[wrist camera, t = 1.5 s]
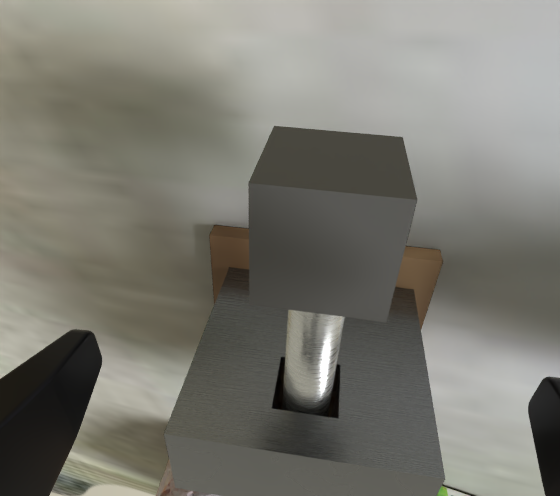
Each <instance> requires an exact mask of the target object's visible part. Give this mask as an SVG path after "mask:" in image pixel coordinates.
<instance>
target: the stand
mask: <svg viewBox="0 0 560 496" xmlns="http://www.w3.org/2000/svg"><path fill="white" fill-rule="evenodd" d="M209 236H210V250H211V264H212V279H213V293H214V307H213V310H212V312H211V315H210V317H209V320H208V323H207V325H206V328H205V330H204V333H203V335H202V338H201V340H200V343H199V346H198V348H197V351H196V353H195V356H194V358H193V361H192V363H191V366H190V369H189V371H188V374H187V376H186V379H185V381H184V384H183V386H182V389H181V391H180V394H179V397H178V399H177V402H176V404H175V407H174V409H173V412H172V414H171V417H170V420H169V422H168V425H167V427H166V430H165V432H164V437H165V442H166V447H167V451H168V456H169V461H170V465H171V470H172V475H173V479H174V484H175V488H180V489H186V490H191V491H197V492H203V493H209V494H215V495H221V496H437V494H438V492H439V490H440V488H441V486H442V484H443V482H444V480H445V475H444V469H443V463H442V457H441V451H440V445H439V439H438V433H437V427H436V421H435V414H434V408H433V402H432V396H431V390H430V384H429V378H428V372H427V366H426V360H425V354H424V347H423V341H422V335H421V328H422V325H423V322H424V319H425V316H426V313H427V310H428V306H429V303H430V300H431V297H432V294H433V291H434V288H435V285H436V282H437V279H438V276H439V272H440V269H441V266H442V263H443V260H442V256H441V252H440V250H435V249H426V248H417V247H408V246H405V250H404V254H403V258H402V262H401V266H400V270H399V274H398V278H397V282H396V286H395V290H394V294H393V298H392V302H391V306H390V310H389V314H388V318H387V322H381V321H373V320H365V319H357V318H350V317H345V319H344V324H343V330H342V336H341V342H340V348H339V353H338V359H337V365H336V371H335V377H334V382H333V388H332V394H331V400H330V406H329V411H328V417H325V416H318V415H312V414H305V413H298V412H292V411H285V410H282V399H283V384H284V369H285V353H286V338H287V323H288V310H287V309H279V308H271V307H264V306H256V305H249V229H246V228H237V227H228V226H219V225H214V227H213V229H212V231H211V233H210V235H209Z"/></svg>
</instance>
